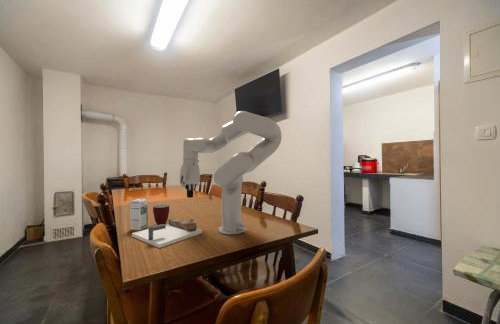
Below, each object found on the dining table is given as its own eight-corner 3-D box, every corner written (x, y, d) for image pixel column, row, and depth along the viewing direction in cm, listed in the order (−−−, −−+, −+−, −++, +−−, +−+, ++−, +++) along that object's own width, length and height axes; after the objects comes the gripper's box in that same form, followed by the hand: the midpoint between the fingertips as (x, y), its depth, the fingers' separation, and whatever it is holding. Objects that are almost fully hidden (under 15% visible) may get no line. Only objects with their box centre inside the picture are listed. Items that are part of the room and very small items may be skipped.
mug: (152, 222, 123) (152, 204, 122) (168, 220, 126) (168, 203, 126) (153, 227, 113) (153, 208, 113) (169, 225, 116) (169, 206, 116)
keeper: (163, 235, 97) (163, 223, 97) (165, 236, 95) (165, 225, 95) (147, 239, 93) (147, 227, 93) (149, 240, 91) (149, 228, 91)
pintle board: (201, 233, 105) (202, 229, 105) (159, 248, 87) (159, 244, 87) (173, 224, 118) (173, 222, 118) (131, 236, 100) (131, 233, 100)
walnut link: (198, 228, 105) (198, 219, 105) (190, 231, 101) (190, 221, 101) (175, 222, 116) (175, 213, 116) (167, 224, 112) (167, 215, 112)
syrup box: (140, 230, 108) (140, 201, 108) (129, 229, 110) (129, 200, 109) (147, 227, 114) (147, 199, 114) (137, 226, 115) (137, 198, 115)
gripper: (196, 162, 124) (196, 194, 124) (173, 162, 112) (173, 198, 112) (206, 162, 119) (205, 196, 120) (183, 162, 107) (182, 200, 108)
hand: (190, 197), depth 116 cm, fingers closed
